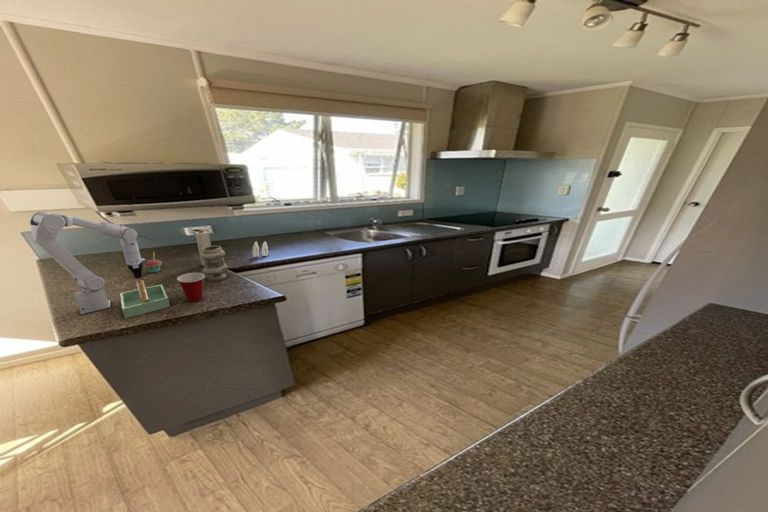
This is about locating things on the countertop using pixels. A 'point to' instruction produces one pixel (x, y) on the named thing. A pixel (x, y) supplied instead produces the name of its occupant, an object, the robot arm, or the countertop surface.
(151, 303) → the bin
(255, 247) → the shaker set
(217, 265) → the apothecary jar
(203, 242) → the paper towel roll
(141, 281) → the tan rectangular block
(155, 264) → the cupcake
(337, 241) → the countertop surface
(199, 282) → the plastic cup
